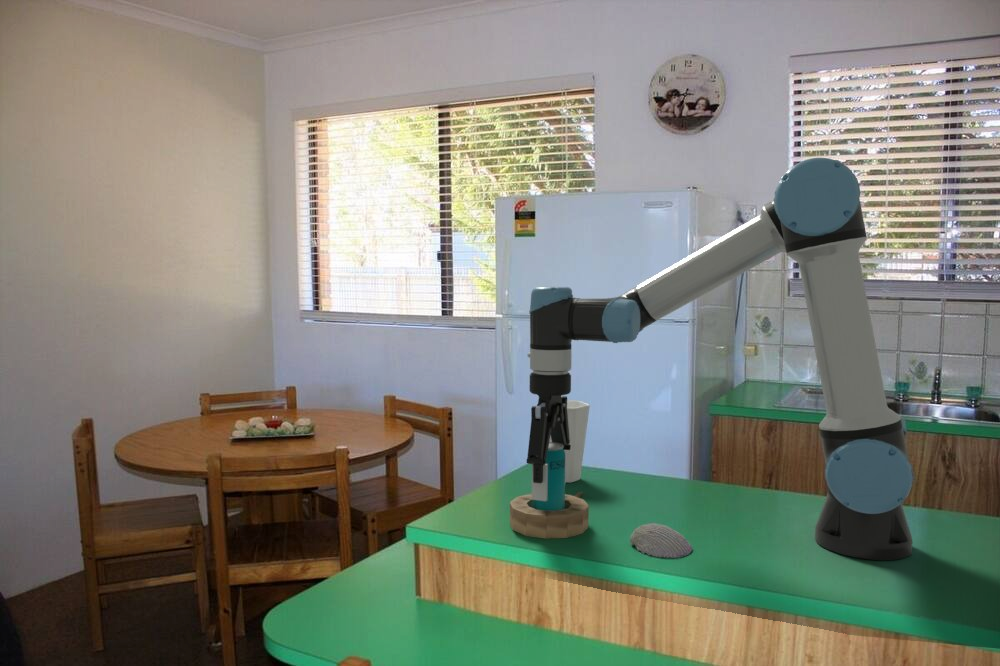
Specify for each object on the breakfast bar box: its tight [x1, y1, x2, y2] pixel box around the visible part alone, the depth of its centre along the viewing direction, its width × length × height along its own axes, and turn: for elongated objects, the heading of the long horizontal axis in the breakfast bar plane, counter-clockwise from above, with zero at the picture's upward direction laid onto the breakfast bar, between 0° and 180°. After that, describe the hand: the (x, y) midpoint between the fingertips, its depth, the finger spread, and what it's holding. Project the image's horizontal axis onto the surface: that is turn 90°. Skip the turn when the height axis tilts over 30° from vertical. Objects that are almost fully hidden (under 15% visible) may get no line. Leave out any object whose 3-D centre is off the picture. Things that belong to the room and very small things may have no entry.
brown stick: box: [573, 491, 583, 499], centre depth 155 cm, size 1×14×1 cm, turn 159°
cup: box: [549, 399, 590, 483], centre depth 173 cm, size 11×10×17 cm
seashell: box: [629, 523, 694, 559], centre depth 131 cm, size 10×6×10 cm
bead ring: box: [509, 493, 590, 540], centre depth 142 cm, size 14×14×4 cm
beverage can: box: [533, 442, 566, 511], centre depth 141 cm, size 6×6×15 cm
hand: (549, 491), depth 141 cm, fingers open, 10 cm apart
